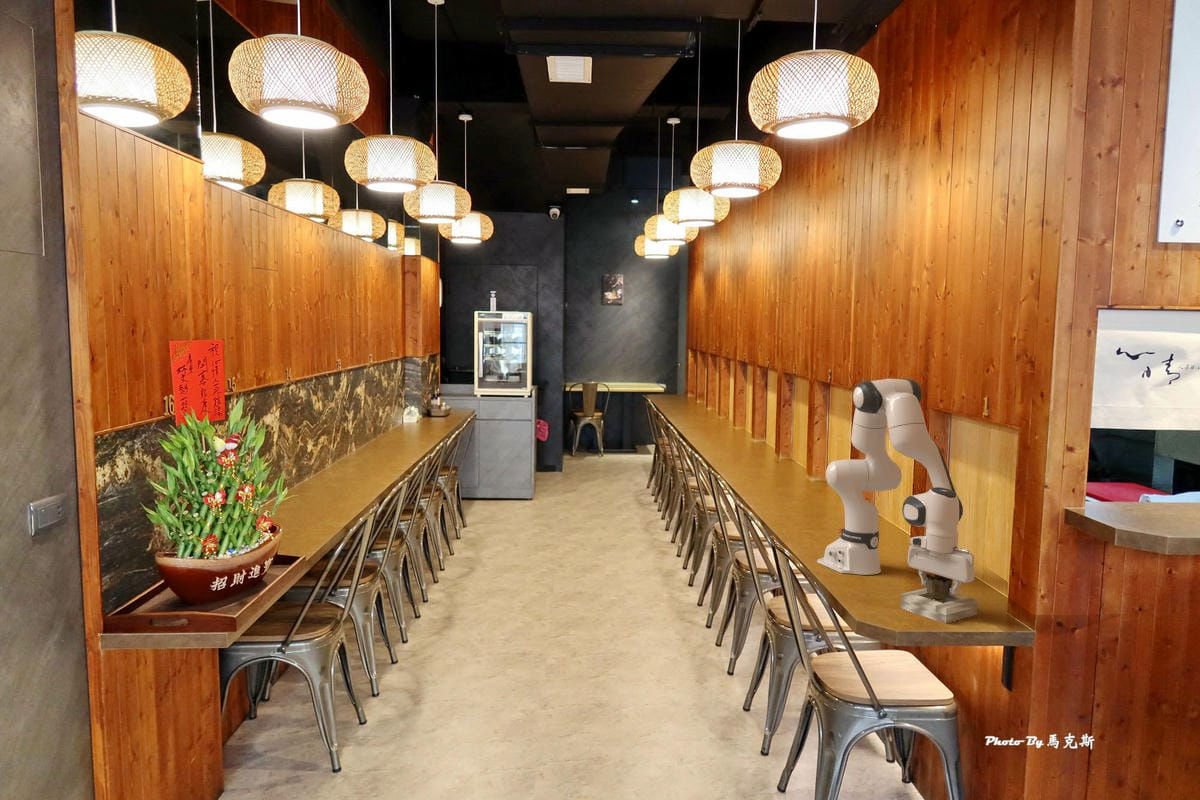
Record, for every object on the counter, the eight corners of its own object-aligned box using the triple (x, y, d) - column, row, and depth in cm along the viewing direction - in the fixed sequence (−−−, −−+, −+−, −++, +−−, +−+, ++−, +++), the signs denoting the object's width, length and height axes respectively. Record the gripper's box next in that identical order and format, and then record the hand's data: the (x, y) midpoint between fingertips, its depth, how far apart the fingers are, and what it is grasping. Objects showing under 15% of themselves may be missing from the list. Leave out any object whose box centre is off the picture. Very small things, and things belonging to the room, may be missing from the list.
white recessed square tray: (900, 610, 235) (901, 593, 235) (931, 602, 243) (932, 586, 242) (945, 625, 222) (946, 608, 222) (977, 616, 230) (977, 600, 230)
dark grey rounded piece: (944, 599, 236) (945, 573, 236) (956, 607, 229) (957, 580, 228) (920, 599, 236) (921, 573, 236) (931, 607, 229) (932, 580, 228)
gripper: (980, 550, 224) (978, 597, 225) (918, 535, 241) (916, 579, 242) (967, 553, 221) (964, 601, 222) (905, 537, 238) (903, 582, 239)
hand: (939, 589), depth 232 cm, fingers open, 8 cm apart
